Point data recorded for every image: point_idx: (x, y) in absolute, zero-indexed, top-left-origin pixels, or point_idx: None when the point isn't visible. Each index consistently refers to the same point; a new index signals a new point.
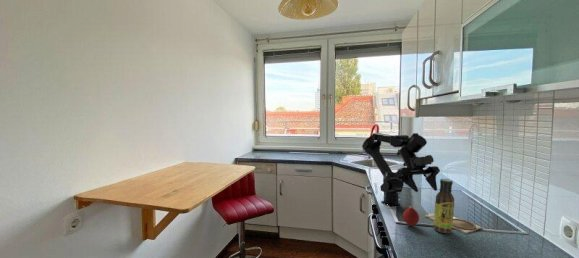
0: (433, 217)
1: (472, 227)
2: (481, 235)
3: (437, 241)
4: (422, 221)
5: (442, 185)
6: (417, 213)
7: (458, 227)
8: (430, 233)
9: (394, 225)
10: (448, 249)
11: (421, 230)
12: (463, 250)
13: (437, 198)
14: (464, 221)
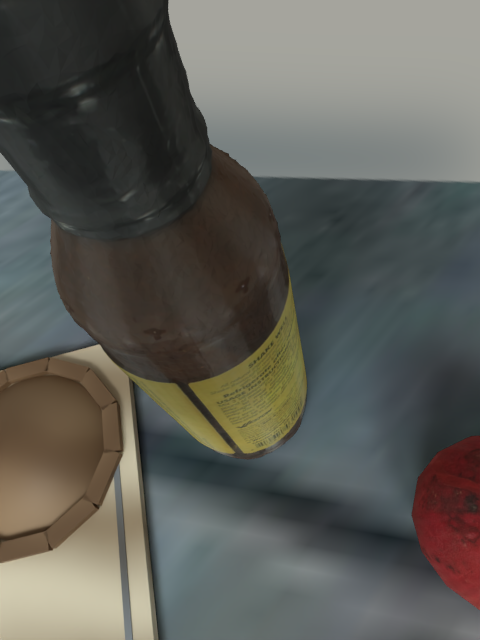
0: None
1: (19, 377)
2: (56, 315)
3: (396, 276)
4: (283, 609)
5: (172, 34)
6: (455, 466)
7: (111, 392)
8: (371, 375)
9: None
10: (391, 202)
11: (414, 429)
12: (314, 192)
13: (278, 248)
14: None
